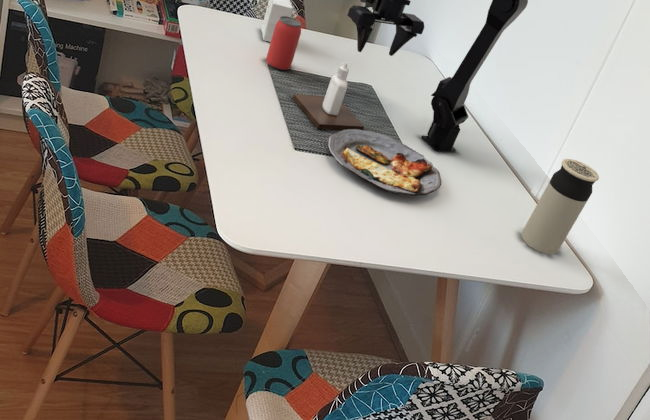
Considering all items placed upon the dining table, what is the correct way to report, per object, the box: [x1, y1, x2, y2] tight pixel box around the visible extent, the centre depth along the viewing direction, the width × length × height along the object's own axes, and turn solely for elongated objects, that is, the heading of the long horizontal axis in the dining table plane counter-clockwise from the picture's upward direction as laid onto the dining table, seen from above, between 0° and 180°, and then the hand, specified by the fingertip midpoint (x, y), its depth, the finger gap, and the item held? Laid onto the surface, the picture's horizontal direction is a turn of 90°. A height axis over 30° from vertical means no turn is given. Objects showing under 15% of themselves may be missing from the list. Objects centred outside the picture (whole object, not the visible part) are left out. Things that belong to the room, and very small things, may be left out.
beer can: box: [265, 16, 302, 71], centre depth 184 cm, size 7×7×12 cm
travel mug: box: [520, 158, 600, 255], centre depth 145 cm, size 8×8×18 cm
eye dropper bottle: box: [322, 61, 350, 116], centre depth 167 cm, size 4×6×12 cm
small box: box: [260, 0, 294, 43], centre depth 200 cm, size 8×6×10 cm
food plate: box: [328, 129, 443, 197], centre depth 155 cm, size 25×23×4 cm
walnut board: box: [292, 93, 365, 131], centre depth 171 cm, size 14×12×1 cm
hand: (374, 53), depth 177 cm, fingers open, 9 cm apart
